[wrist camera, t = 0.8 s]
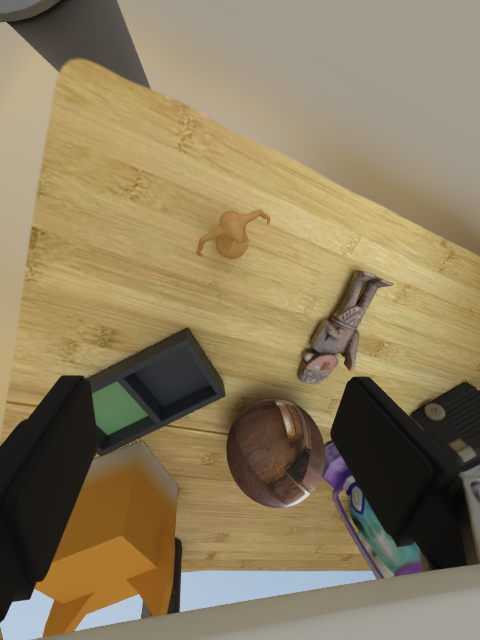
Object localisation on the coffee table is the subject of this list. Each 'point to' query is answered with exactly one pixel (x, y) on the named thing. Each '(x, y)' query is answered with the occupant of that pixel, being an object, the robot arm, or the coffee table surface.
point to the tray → (152, 390)
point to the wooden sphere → (275, 453)
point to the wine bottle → (175, 593)
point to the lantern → (367, 521)
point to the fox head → (115, 540)
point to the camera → (455, 426)
